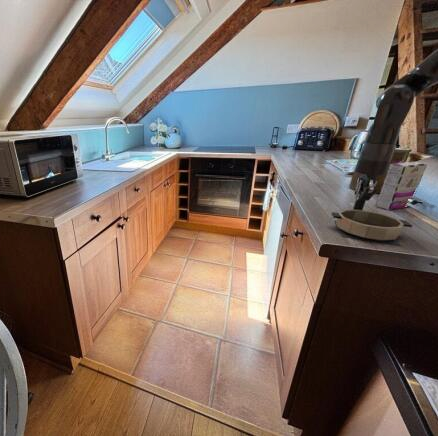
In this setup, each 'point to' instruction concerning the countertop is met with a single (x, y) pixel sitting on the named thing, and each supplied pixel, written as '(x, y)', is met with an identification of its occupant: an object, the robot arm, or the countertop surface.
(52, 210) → the countertop surface
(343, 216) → the pan
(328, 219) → the countertop surface
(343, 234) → the mat
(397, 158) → the wooden container
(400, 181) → the candy bar box
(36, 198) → the countertop surface
